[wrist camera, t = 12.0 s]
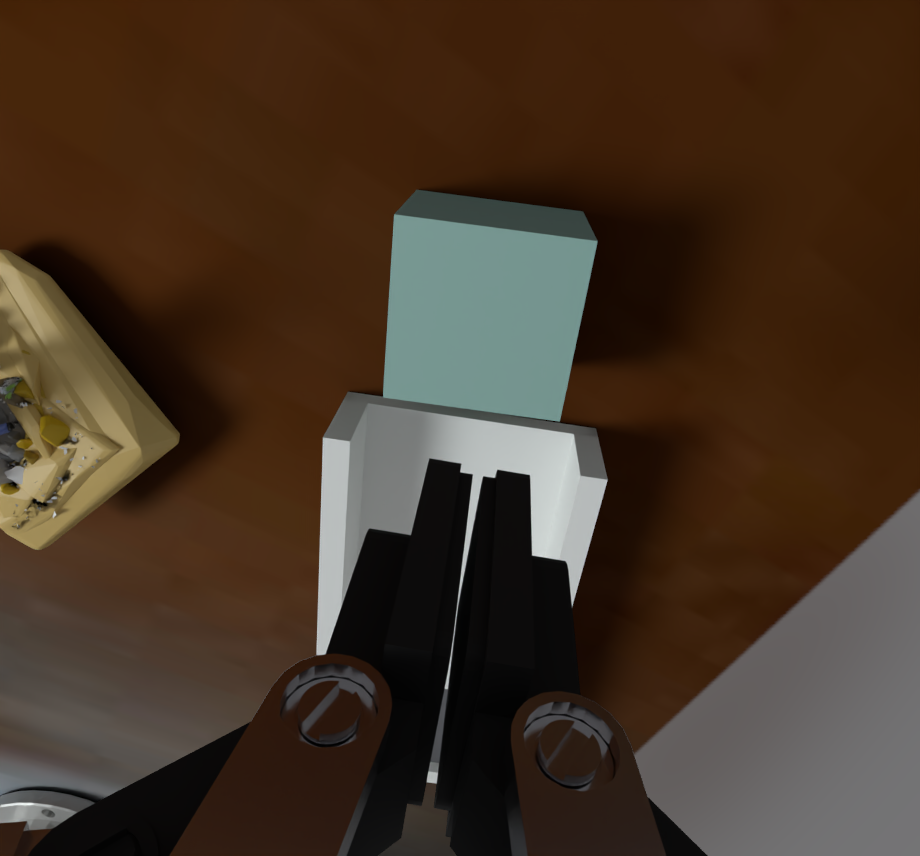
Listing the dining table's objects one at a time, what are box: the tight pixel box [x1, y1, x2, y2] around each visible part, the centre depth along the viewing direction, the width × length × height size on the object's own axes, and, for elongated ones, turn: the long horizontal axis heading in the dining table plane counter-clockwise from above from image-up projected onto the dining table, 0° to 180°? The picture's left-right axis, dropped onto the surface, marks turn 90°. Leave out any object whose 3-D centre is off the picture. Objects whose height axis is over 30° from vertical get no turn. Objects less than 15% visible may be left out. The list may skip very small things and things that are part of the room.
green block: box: [383, 190, 598, 422], centre depth 23 cm, size 6×6×5 cm
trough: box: [317, 392, 608, 784], centre depth 31 cm, size 24×10×4 cm, turn 173°
